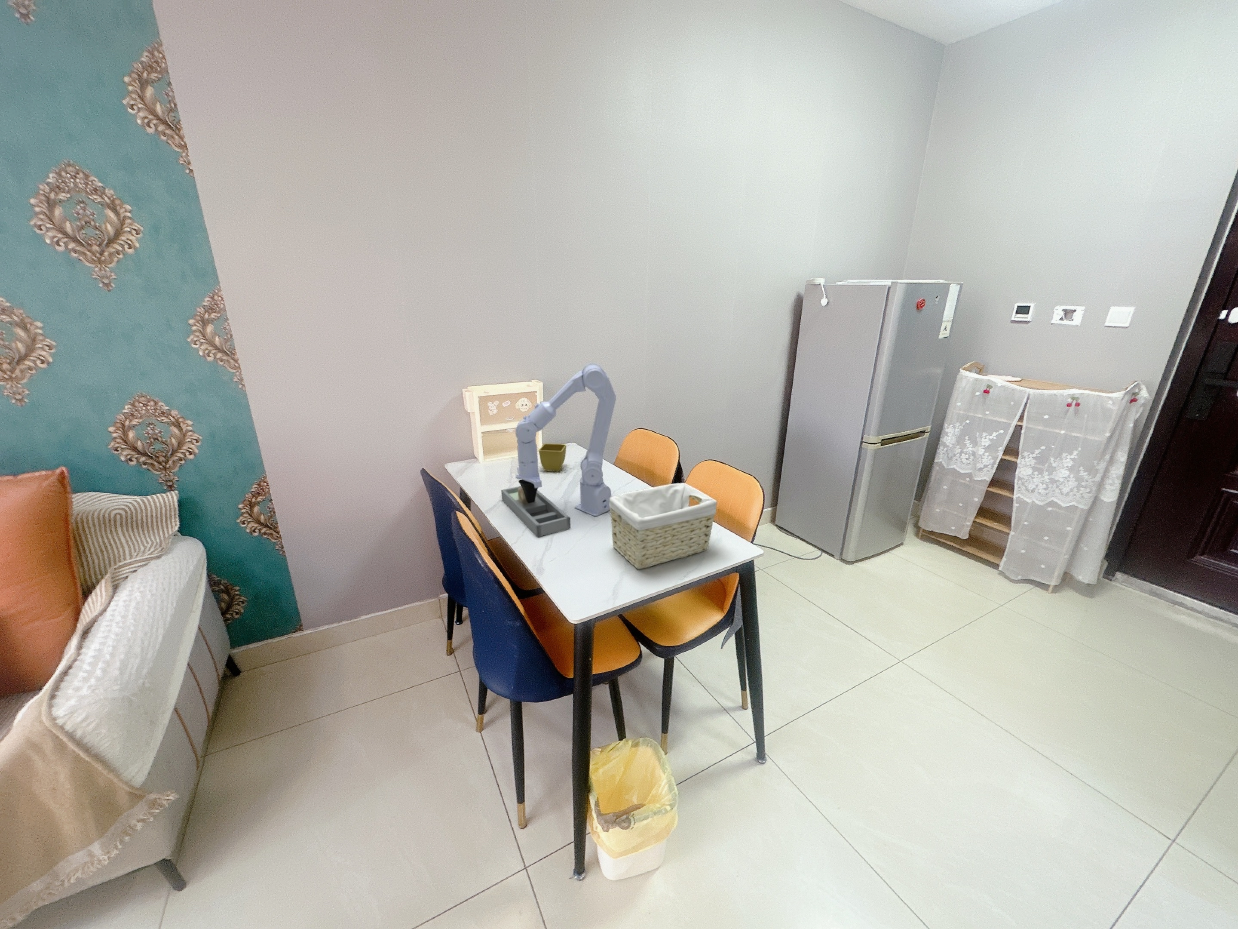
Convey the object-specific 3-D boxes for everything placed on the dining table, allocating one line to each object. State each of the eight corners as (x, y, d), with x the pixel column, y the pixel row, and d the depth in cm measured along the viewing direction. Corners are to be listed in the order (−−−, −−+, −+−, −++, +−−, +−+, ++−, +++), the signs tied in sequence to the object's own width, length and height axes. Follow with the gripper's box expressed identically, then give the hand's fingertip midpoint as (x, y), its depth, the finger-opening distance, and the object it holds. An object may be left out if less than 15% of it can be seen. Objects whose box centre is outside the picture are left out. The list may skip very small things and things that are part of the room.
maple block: (535, 501, 151) (534, 490, 150) (523, 504, 149) (522, 492, 148) (530, 497, 154) (529, 486, 153) (518, 500, 152) (517, 488, 151)
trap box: (570, 528, 138) (570, 517, 137) (537, 537, 133) (537, 526, 132) (531, 493, 162) (530, 483, 161) (502, 499, 157) (501, 490, 156)
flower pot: (567, 466, 188) (566, 444, 185) (562, 474, 180) (561, 451, 177) (545, 465, 189) (544, 443, 186) (539, 473, 181) (538, 450, 178)
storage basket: (680, 527, 139) (682, 479, 135) (716, 552, 126) (720, 500, 121) (606, 546, 129) (606, 495, 124) (637, 576, 115) (638, 520, 110)
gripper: (506, 455, 148) (510, 496, 152) (524, 469, 136) (527, 513, 141) (528, 452, 151) (531, 492, 156) (547, 465, 140) (549, 508, 144)
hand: (530, 501), depth 149 cm, fingers closed
